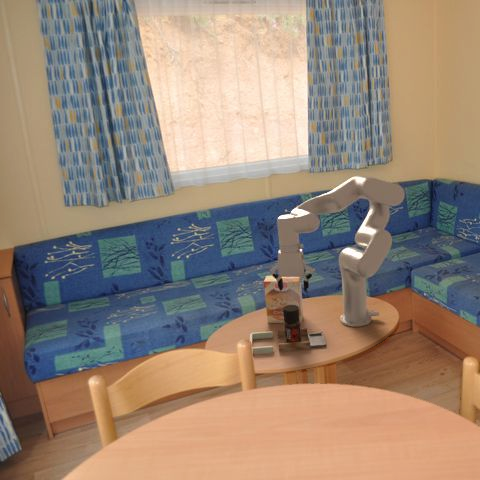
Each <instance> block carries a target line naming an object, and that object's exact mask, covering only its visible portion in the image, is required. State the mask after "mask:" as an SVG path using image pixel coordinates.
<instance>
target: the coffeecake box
mask: <svg viewBox="0 0 480 480" xmlns="http://www.w3.org/2000/svg"><path fill="white" fill-rule="evenodd" d="M282 279H283V289H282V290H281V291H280V288H278V281H277V280H276V279H275V278H274V277H273V275H265V279H264V280H263V287H264V298H265V308H266V317H267V318H266V319H267V323H268V324H284V314H283V307H284V306H287V305H296V306H298V307H299V320H300V324H302V323H303V320H304V319H303V318H304V311H303V310H304V307H303V296H302V294H303V293H302V282H301V281H302V280H301V279H302V278H301V277H282Z"/></svg>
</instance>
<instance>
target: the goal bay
mask: <svg viewBox="0 0 480 480" xmlns="http://www.w3.org/2000/svg"><path fill="white" fill-rule="evenodd" d="M273 334H274V333H273V330H272V331H271V330H270V331H259V332H257V331H255V332H249V335H250V336H249V342H250V341H251V343H252V346H253V347H252V348H253V353H254V354H253V355H261V354H272V353H273V354H274V353H275V350H274V345H267V346H266V345H265V346H254V344H253V342H254V340H259V339H273V338H274V335H273Z"/></svg>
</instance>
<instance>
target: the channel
mask: <svg viewBox="0 0 480 480" xmlns="http://www.w3.org/2000/svg"><path fill="white" fill-rule="evenodd" d="M300 332H301V337H306V336H307V337H308V327H302V328H301V327H300ZM276 333H277V338H278V339H281V338H282V339H283V338H286V336H285V329H278V330H277V331H276ZM304 350H305V351H306V350H312V348H311V347H310V341H309V340H307V341H301V342H292V343H286V342H281V343H278V352H291V351H292V352H294V351H304Z"/></svg>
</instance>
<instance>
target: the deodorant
mask: <svg viewBox="0 0 480 480" xmlns="http://www.w3.org/2000/svg"><path fill="white" fill-rule="evenodd" d="M283 314H284V323H283V324H284V330H285V336H286V337H285V343H292V342H302V336H301V332H300V328H301V323H300V320H299V307H298V306H296V305H287V306H284V307H283Z"/></svg>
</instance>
